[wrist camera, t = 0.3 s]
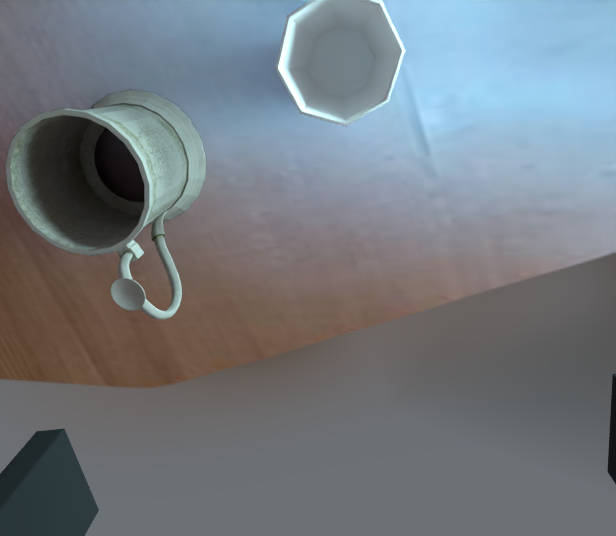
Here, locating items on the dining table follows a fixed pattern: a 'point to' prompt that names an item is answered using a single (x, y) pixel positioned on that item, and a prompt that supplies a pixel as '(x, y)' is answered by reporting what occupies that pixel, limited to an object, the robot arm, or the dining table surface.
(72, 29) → the dining table surface
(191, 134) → the mug
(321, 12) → the cup
